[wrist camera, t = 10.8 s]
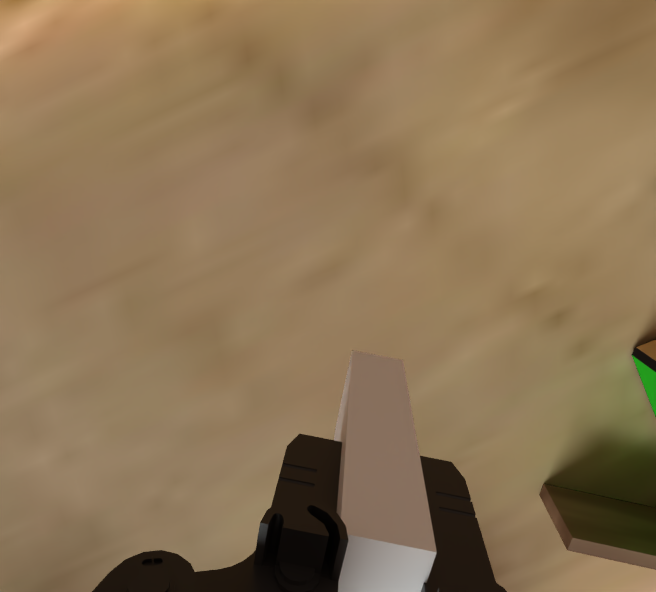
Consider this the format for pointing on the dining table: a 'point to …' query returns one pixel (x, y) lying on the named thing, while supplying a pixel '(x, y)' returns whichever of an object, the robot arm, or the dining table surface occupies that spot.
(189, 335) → the dining table surface
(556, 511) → the box
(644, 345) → the puzzle cube
